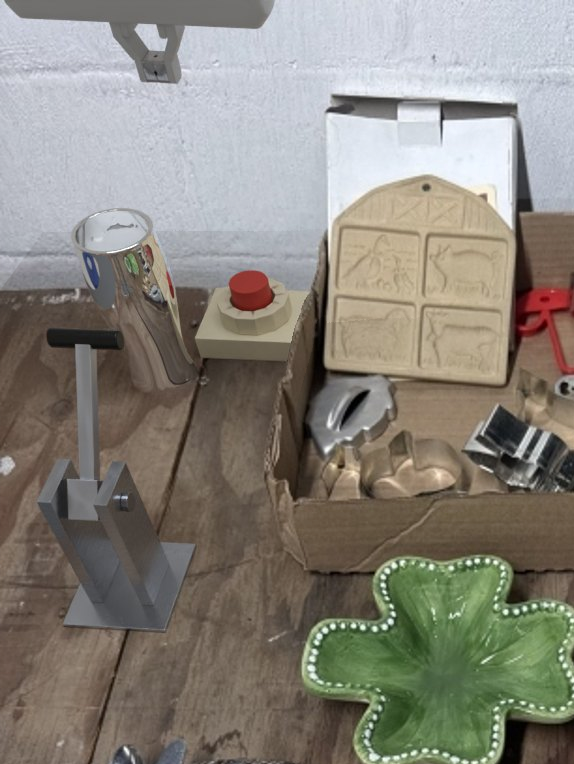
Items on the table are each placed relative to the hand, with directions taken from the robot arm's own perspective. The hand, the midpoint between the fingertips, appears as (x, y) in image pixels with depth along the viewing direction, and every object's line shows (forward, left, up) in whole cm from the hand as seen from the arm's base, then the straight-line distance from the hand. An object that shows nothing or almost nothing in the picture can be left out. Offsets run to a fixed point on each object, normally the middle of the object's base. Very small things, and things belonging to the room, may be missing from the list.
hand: (162, 80), depth 86 cm
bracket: (+1, -35, -23) cm, 41 cm away
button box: (+3, -1, -23) cm, 23 cm away
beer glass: (-4, -9, -23) cm, 25 cm away
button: (+3, -1, -19) cm, 19 cm away
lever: (+1, -30, -10) cm, 32 cm away
